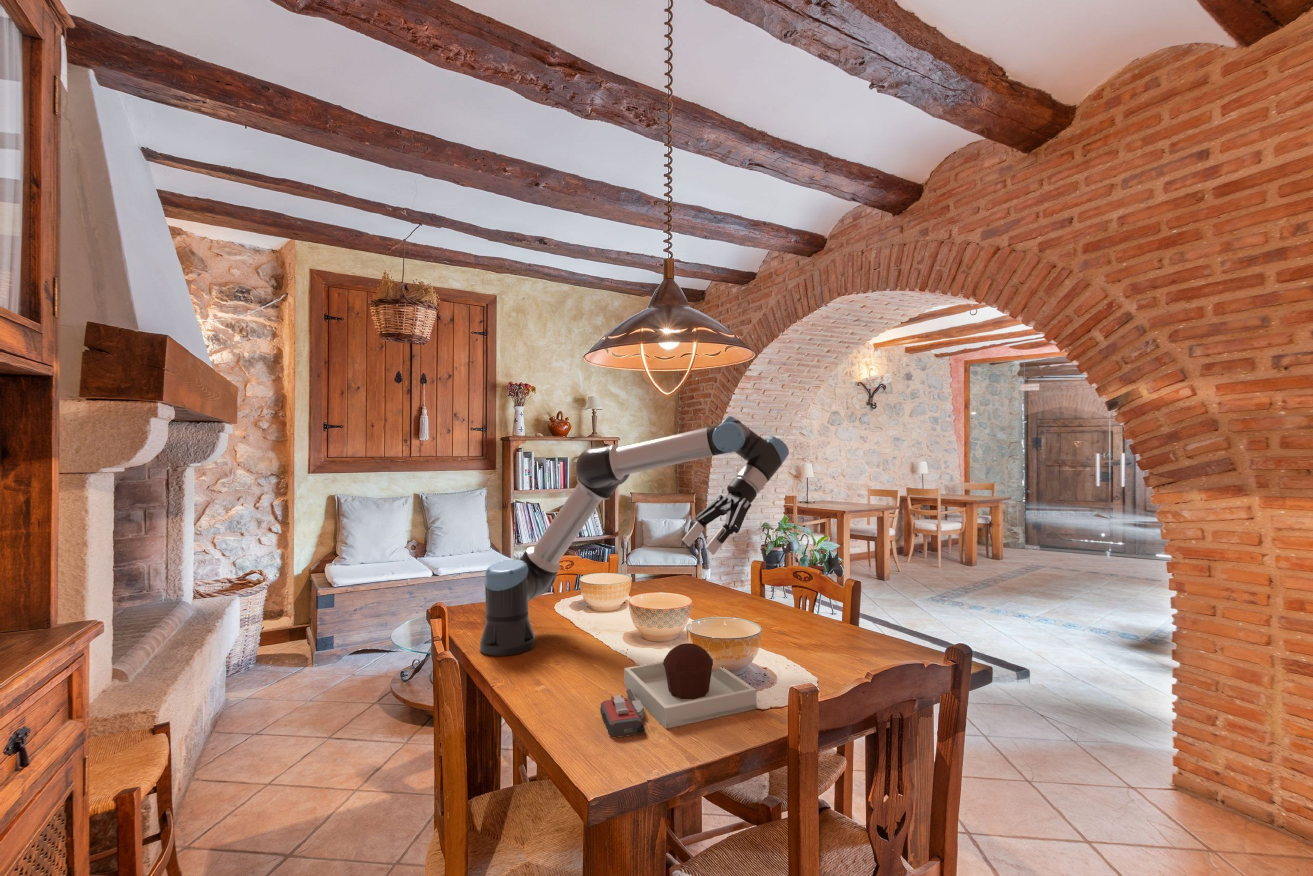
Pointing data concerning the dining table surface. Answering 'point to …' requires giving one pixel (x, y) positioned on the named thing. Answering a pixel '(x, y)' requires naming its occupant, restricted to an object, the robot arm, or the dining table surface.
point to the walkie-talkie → (623, 715)
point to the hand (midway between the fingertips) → (696, 547)
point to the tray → (672, 711)
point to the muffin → (688, 671)
